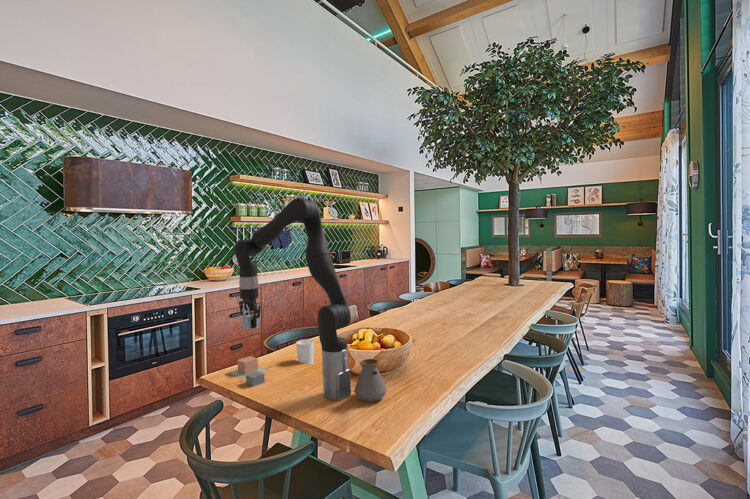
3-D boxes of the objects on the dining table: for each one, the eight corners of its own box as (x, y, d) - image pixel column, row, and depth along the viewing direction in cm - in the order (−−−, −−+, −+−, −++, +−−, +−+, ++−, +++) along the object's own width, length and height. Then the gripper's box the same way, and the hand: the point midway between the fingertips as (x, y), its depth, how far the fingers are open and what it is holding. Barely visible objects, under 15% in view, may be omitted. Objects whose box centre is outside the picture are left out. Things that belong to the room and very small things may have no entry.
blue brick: (259, 327, 155) (258, 315, 155) (248, 330, 151) (247, 318, 151) (252, 325, 158) (252, 314, 158) (242, 328, 155) (241, 316, 154)
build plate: (268, 373, 157) (268, 369, 157) (242, 382, 148) (242, 378, 148) (253, 367, 165) (253, 363, 165) (227, 375, 156) (227, 372, 155)
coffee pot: (353, 392, 136) (351, 352, 135) (383, 388, 137) (382, 349, 137) (359, 421, 115) (358, 374, 114) (395, 417, 116) (394, 370, 116)
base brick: (258, 370, 156) (257, 358, 156) (245, 374, 152) (244, 362, 152) (250, 367, 160) (250, 356, 160) (237, 371, 156) (237, 359, 156)
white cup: (293, 365, 165) (292, 343, 165) (304, 359, 172) (303, 338, 172) (307, 367, 162) (306, 345, 161) (318, 361, 169) (317, 340, 168)
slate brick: (264, 386, 143) (264, 373, 143) (253, 390, 140) (252, 378, 139) (257, 383, 147) (257, 371, 147) (246, 387, 143) (245, 374, 143)
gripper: (266, 287, 152) (267, 327, 153) (248, 284, 161) (249, 322, 162) (249, 290, 146) (251, 332, 147) (232, 286, 156) (233, 325, 157)
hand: (250, 326), depth 155 cm, fingers closed on blue brick, 5 cm apart
